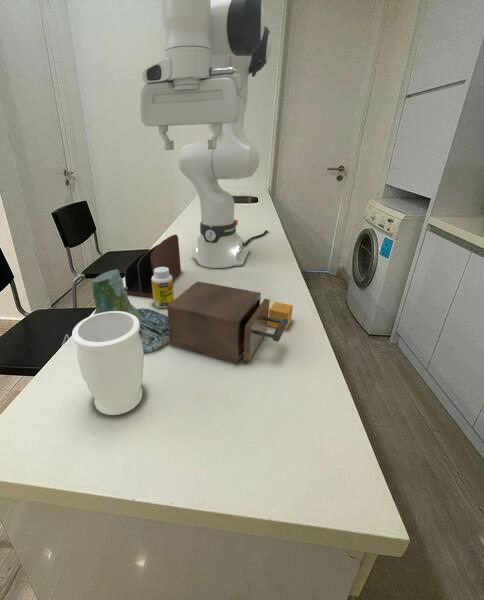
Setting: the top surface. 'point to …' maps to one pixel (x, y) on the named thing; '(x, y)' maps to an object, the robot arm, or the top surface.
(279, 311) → the block
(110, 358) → the jar
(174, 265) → the letter holder
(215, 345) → the cabinet
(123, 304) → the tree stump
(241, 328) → the drawer
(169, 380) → the top surface
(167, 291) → the supplement bottle
